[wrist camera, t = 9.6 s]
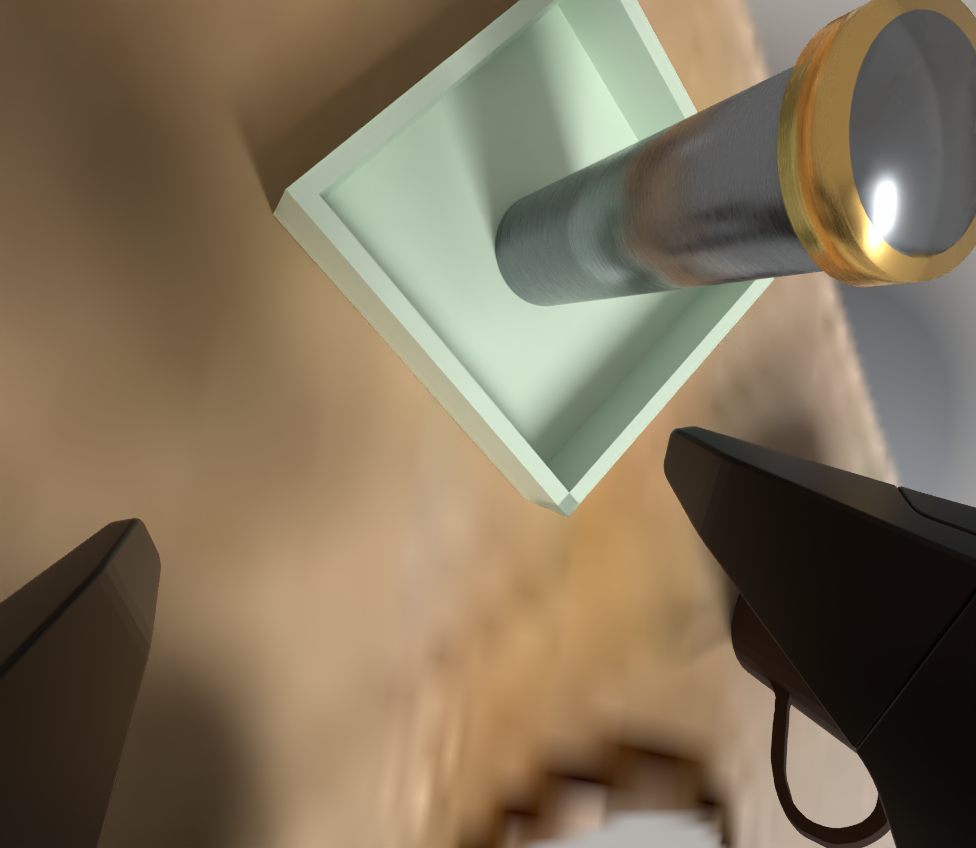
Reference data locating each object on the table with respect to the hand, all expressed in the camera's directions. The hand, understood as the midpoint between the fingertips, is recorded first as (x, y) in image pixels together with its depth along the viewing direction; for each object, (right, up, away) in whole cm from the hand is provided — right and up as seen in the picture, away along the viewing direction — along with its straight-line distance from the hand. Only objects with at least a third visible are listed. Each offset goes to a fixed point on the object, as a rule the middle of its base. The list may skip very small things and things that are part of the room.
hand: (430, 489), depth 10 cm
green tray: (+3, +8, +12) cm, 15 cm away
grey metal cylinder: (+3, +7, +12) cm, 14 cm away
